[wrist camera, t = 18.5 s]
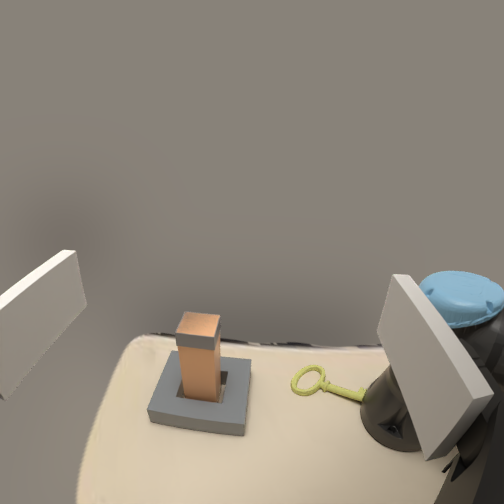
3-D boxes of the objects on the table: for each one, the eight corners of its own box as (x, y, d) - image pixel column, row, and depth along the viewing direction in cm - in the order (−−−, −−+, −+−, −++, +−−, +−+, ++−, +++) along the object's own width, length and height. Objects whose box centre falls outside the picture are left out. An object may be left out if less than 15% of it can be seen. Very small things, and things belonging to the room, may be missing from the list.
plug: (221, 388, 43) (220, 315, 38) (217, 410, 39) (214, 337, 34) (192, 384, 44) (185, 311, 38) (185, 406, 39) (175, 332, 34)
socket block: (250, 372, 47) (251, 359, 46) (243, 436, 35) (244, 424, 34) (173, 363, 48) (171, 350, 47) (150, 421, 36) (146, 409, 34)
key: (363, 407, 40) (367, 398, 39) (287, 395, 43) (288, 386, 42) (364, 377, 46) (368, 368, 45) (296, 366, 50) (297, 357, 49)
